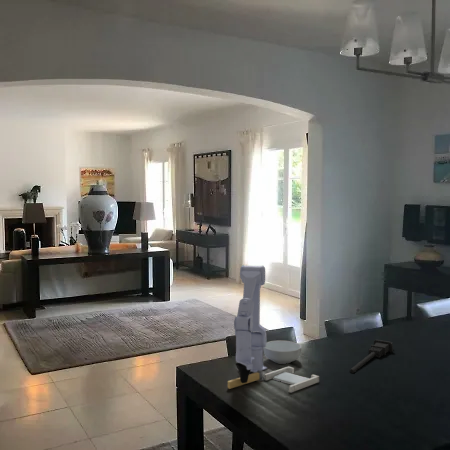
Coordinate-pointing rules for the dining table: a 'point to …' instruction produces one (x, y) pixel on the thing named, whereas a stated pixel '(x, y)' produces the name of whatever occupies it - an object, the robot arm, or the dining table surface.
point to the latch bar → (251, 378)
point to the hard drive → (289, 378)
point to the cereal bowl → (282, 351)
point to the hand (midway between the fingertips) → (244, 382)
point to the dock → (288, 369)
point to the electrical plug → (375, 352)
